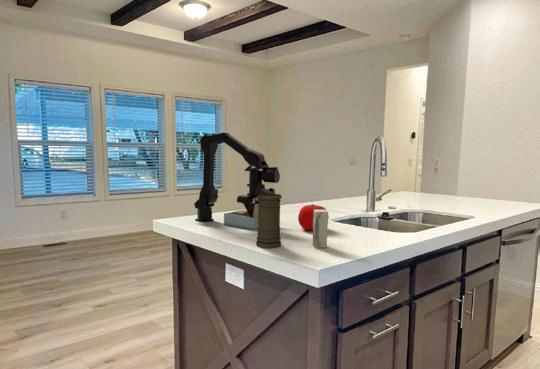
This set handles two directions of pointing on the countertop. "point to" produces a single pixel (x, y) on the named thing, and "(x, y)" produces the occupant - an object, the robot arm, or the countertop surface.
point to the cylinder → (255, 211)
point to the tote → (240, 221)
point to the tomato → (308, 216)
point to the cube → (241, 213)
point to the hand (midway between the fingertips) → (255, 217)
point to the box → (320, 228)
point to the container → (269, 221)
